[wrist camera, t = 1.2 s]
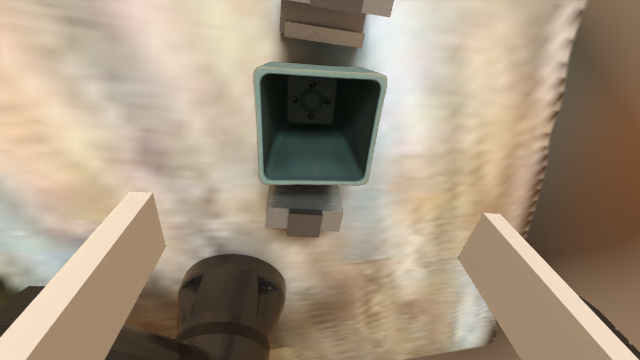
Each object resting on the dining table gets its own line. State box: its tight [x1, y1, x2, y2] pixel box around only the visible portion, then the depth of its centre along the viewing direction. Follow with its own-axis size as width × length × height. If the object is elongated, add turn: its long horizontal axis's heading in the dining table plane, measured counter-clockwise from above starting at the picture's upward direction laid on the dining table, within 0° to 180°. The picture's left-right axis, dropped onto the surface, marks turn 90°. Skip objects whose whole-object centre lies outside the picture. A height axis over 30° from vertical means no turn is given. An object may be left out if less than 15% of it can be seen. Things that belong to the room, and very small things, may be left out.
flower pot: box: [253, 62, 387, 186], centre depth 23 cm, size 9×9×9 cm
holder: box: [265, 0, 394, 237], centre depth 24 cm, size 23×7×9 cm, turn 172°
